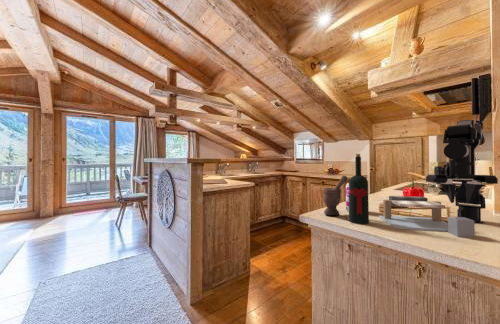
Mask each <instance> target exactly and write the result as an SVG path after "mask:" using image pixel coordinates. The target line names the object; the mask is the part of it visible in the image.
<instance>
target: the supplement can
mask: <svg viewBox="0 0 500 324" xmlns="http://www.w3.org/2000/svg"><path fill="white" fill-rule="evenodd" d="M345 210H346V211H347V212H348V213H349V182H347V183H346V185H345Z"/></svg>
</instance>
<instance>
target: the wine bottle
mask: <svg viewBox="0 0 500 324" xmlns="http://www.w3.org/2000/svg"><path fill="white" fill-rule="evenodd" d="M354 162H355V175H354V176H353V175H352V177H350V178H349V181H348V183H349V212H348V221H349V223H352V224H356V225H368V224H369V222H370V217H369V216H370V212H369V209H370V208H369V180H368V179H367V178H366V177H365V176H363V175H362V157H361V154H360V153H356V154H355V161H354Z"/></svg>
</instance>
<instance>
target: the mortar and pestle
mask: <svg viewBox="0 0 500 324" xmlns="http://www.w3.org/2000/svg"><path fill="white" fill-rule="evenodd" d="M347 181H348V176H346V175H342V176H341V177H340V179H339V181H338V182H337V184H336V185H335V186H334V187H327V186H326V187H323V188H322V199H323V203H324V204H325V206H326V209H324V212H323V214H325V215H327V216H339V215H340V211H339V210H338V209H337V207H338V206H339V205H340V203H341V194H342V192H341V191H342V189H341V187H342V186H343V185H344V184H345V183H346V182H347Z"/></svg>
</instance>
